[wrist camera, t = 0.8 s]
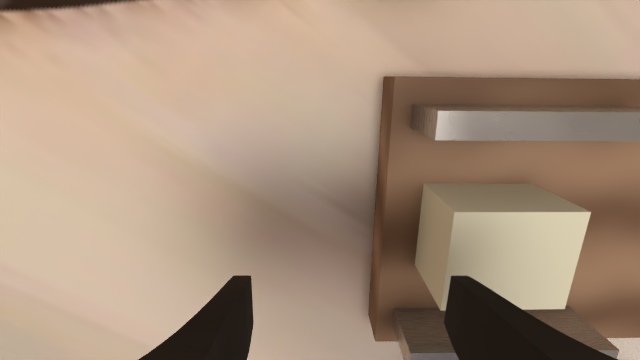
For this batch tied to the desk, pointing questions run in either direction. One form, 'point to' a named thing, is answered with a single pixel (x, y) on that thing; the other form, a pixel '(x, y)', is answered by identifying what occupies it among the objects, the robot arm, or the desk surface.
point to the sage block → (500, 241)
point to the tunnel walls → (510, 125)
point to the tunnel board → (510, 168)
